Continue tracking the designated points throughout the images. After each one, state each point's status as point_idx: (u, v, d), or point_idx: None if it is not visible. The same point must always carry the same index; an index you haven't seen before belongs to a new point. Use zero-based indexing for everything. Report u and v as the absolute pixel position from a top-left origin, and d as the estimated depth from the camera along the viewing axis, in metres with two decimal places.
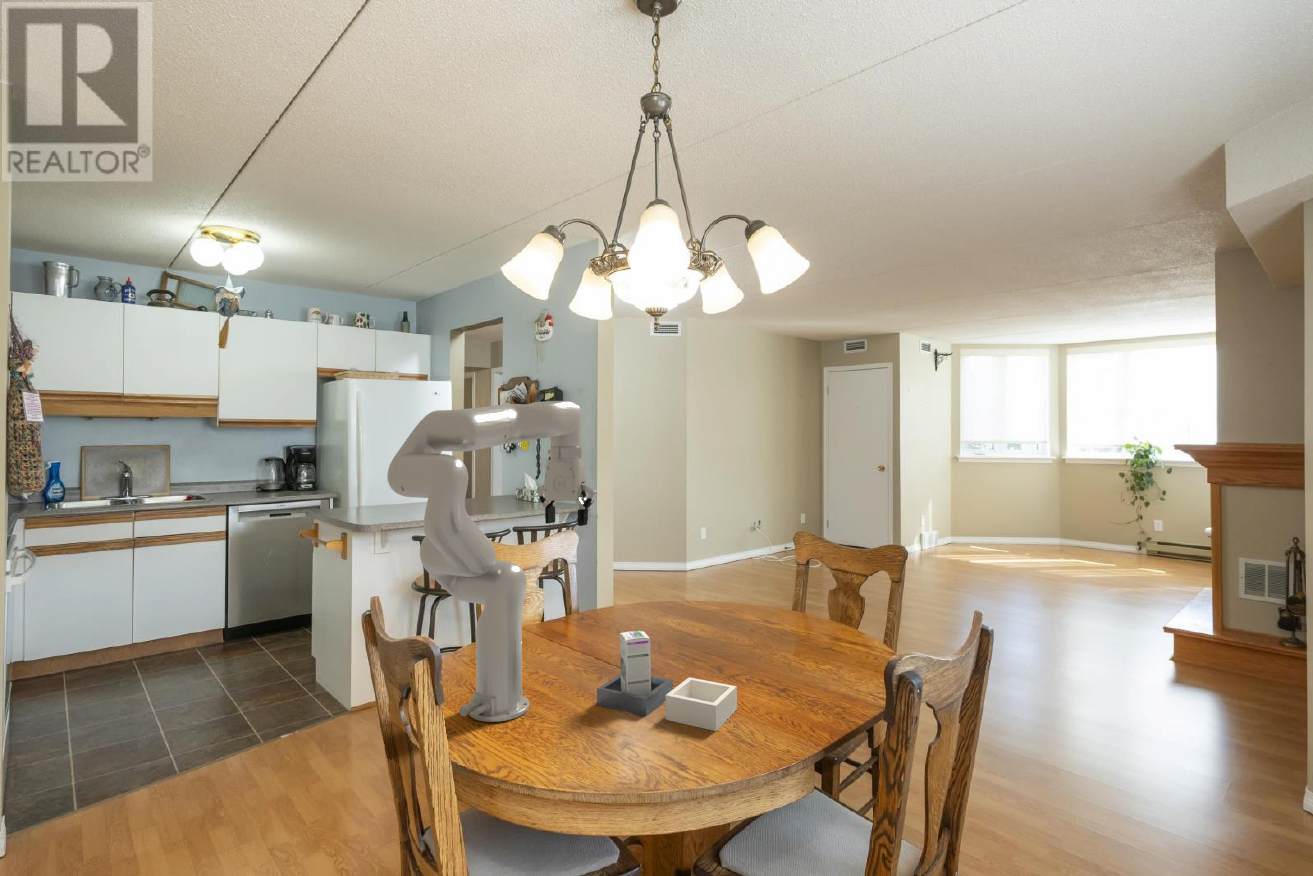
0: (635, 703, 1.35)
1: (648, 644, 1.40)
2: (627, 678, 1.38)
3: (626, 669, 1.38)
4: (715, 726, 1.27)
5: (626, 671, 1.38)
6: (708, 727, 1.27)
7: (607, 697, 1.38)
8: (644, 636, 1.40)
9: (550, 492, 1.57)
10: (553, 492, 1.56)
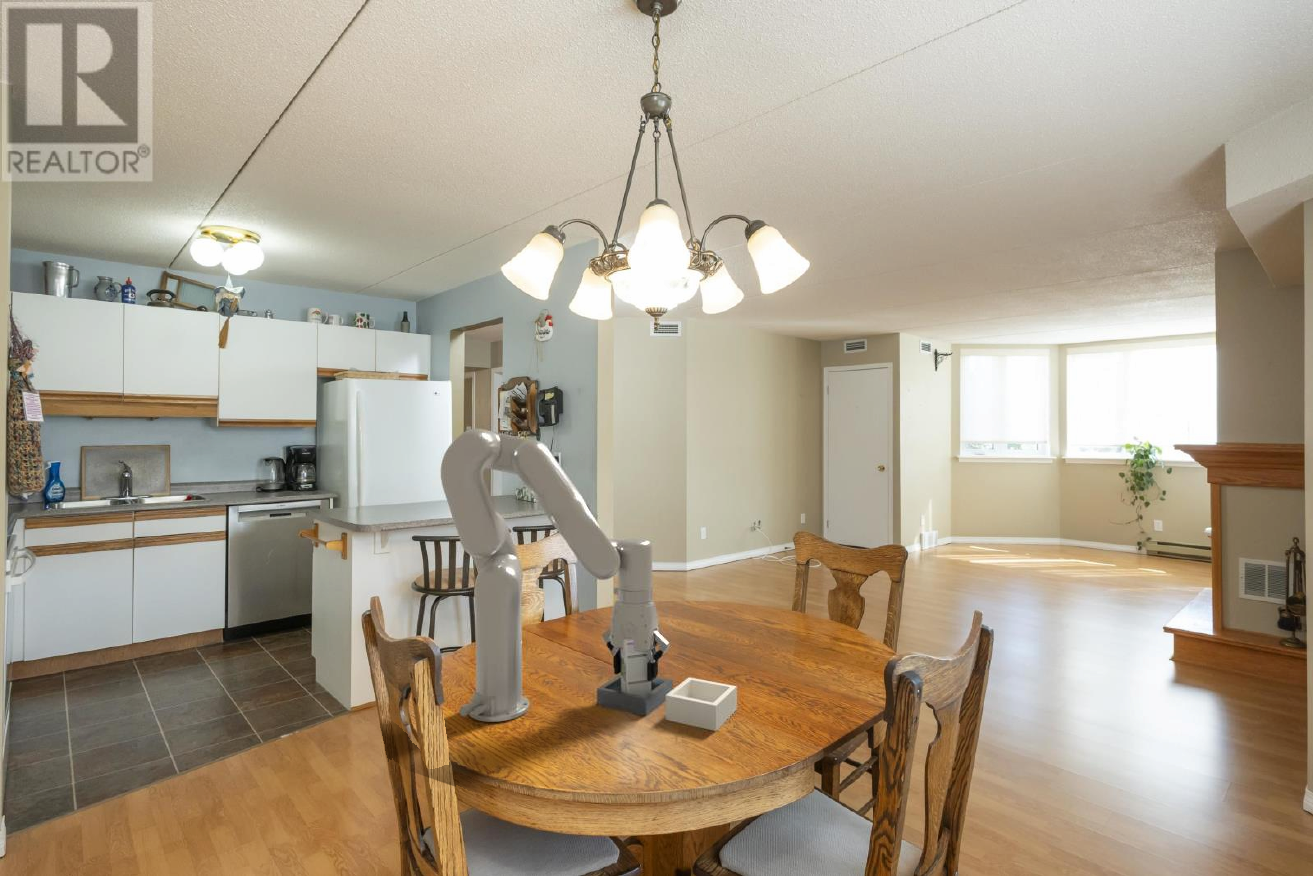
0: (635, 703, 1.35)
1: None
2: (627, 678, 1.38)
3: (626, 669, 1.38)
4: (715, 726, 1.27)
5: (626, 671, 1.38)
6: (708, 727, 1.27)
7: (607, 697, 1.38)
8: None
9: (618, 639, 1.40)
10: (621, 640, 1.40)
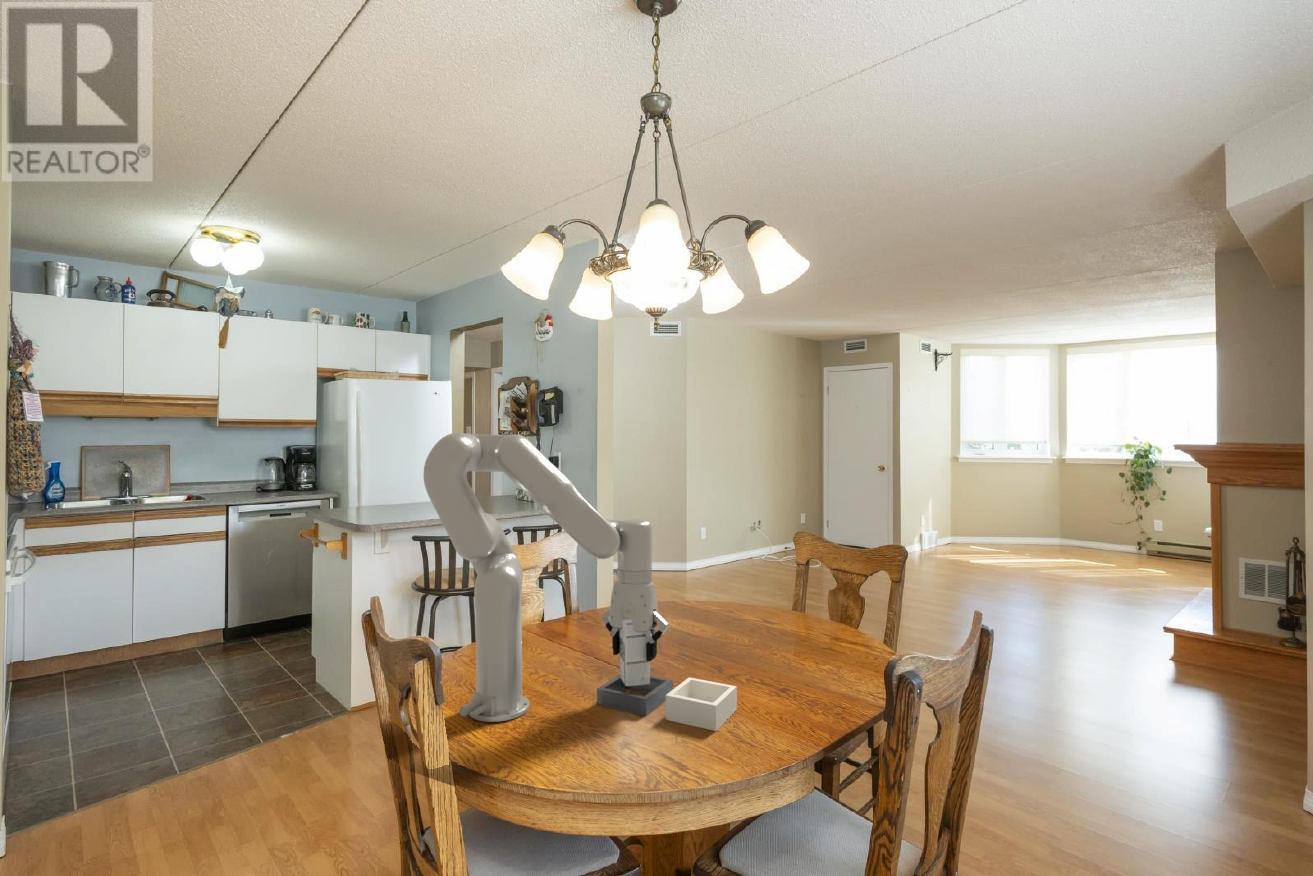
0: (635, 703, 1.35)
1: None
2: (626, 658, 1.38)
3: (625, 649, 1.38)
4: (715, 726, 1.27)
5: (625, 651, 1.38)
6: (708, 727, 1.27)
7: (607, 697, 1.38)
8: None
9: (617, 620, 1.40)
10: (621, 620, 1.40)
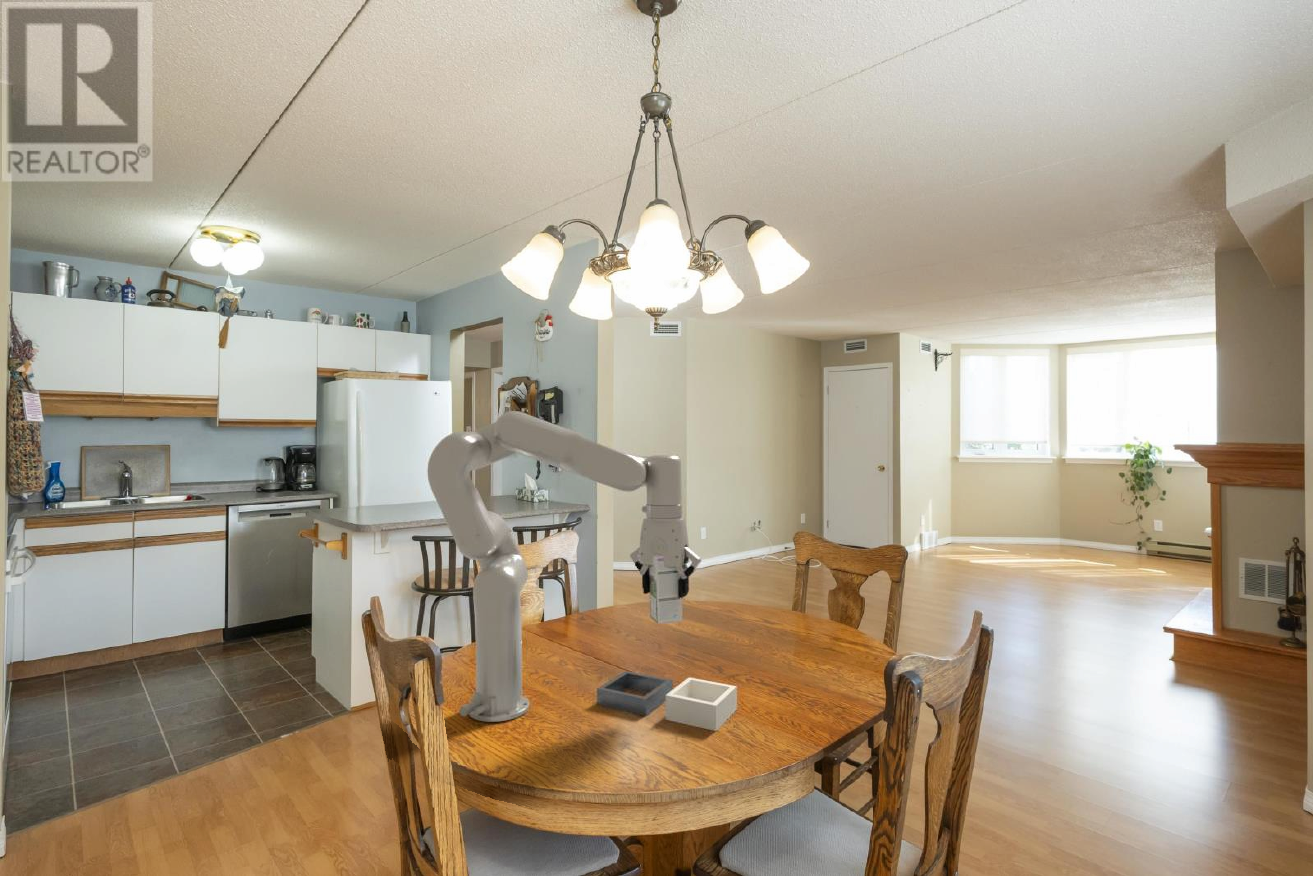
0: (635, 703, 1.35)
1: None
2: (658, 595, 1.35)
3: (657, 585, 1.35)
4: (715, 726, 1.27)
5: (657, 588, 1.35)
6: (708, 727, 1.27)
7: (607, 697, 1.38)
8: None
9: (647, 556, 1.37)
10: (651, 557, 1.37)
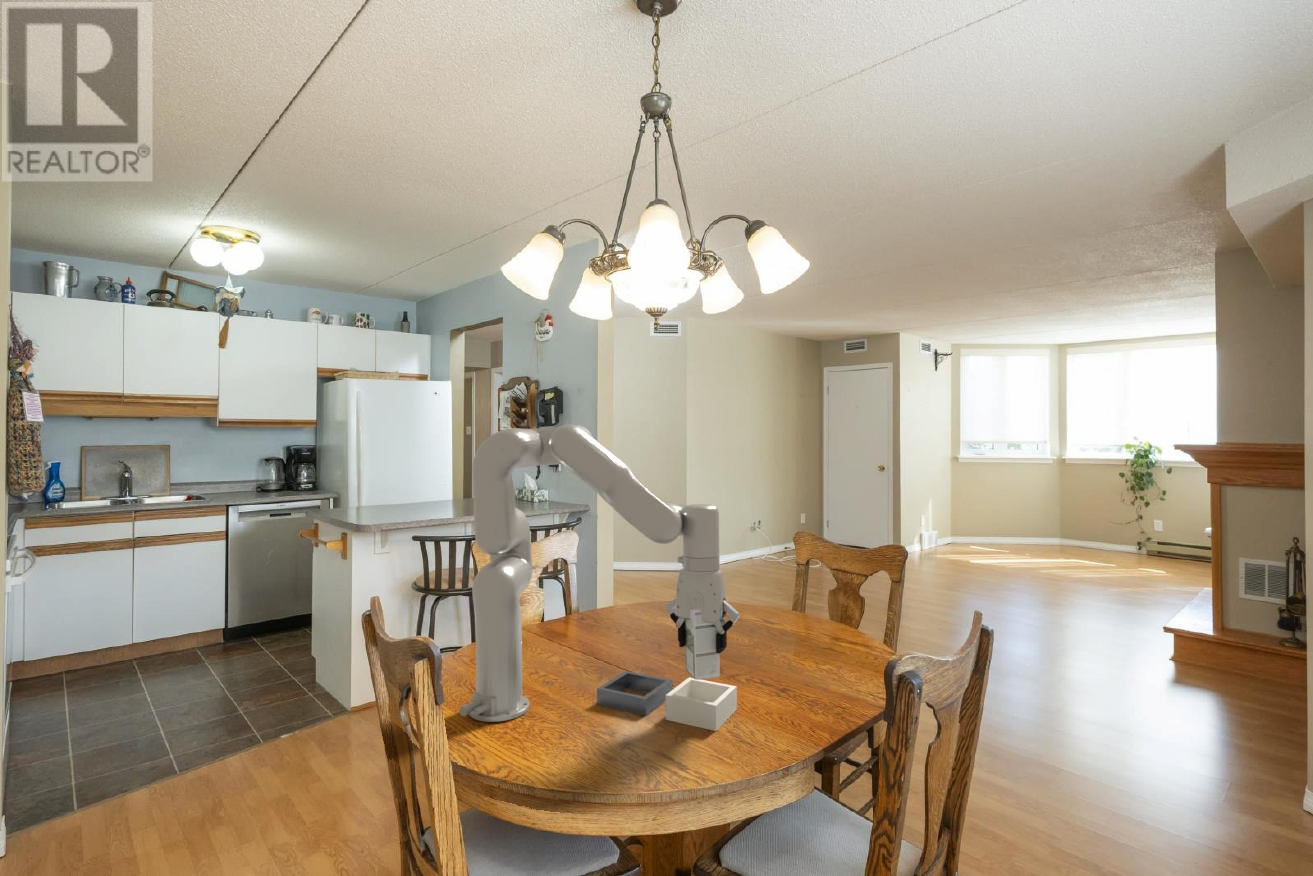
0: (635, 703, 1.35)
1: None
2: (695, 650, 1.31)
3: (694, 640, 1.31)
4: (715, 726, 1.27)
5: (694, 642, 1.31)
6: (708, 727, 1.27)
7: (607, 697, 1.38)
8: None
9: (684, 610, 1.33)
10: (688, 610, 1.32)
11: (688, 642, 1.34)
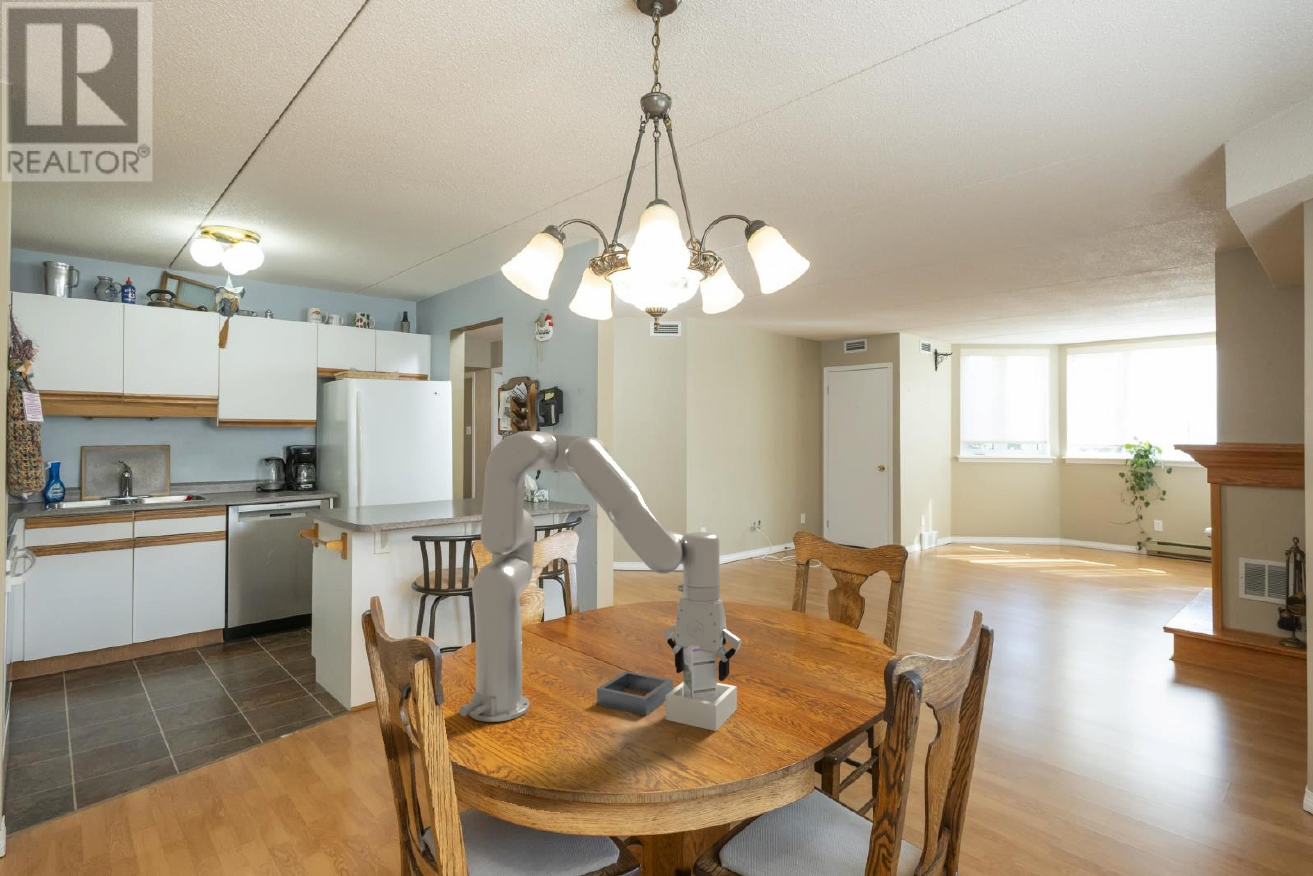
0: (635, 703, 1.35)
1: None
2: (693, 686, 1.31)
3: (692, 677, 1.31)
4: (715, 726, 1.27)
5: (692, 679, 1.31)
6: (708, 727, 1.27)
7: (607, 697, 1.38)
8: None
9: (684, 639, 1.33)
10: (688, 639, 1.32)
11: (686, 678, 1.34)
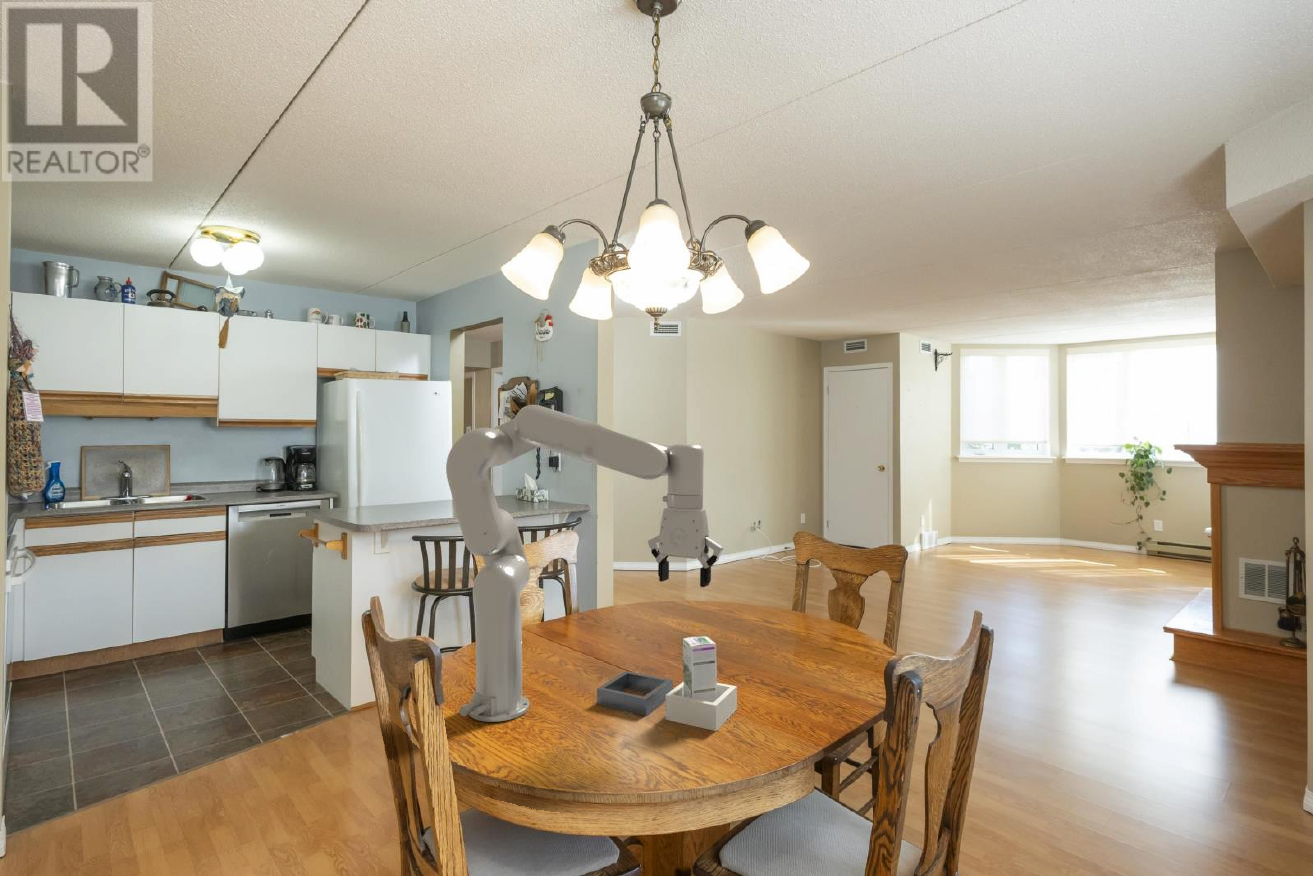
0: (635, 703, 1.35)
1: (714, 650, 1.32)
2: (693, 686, 1.31)
3: (692, 677, 1.31)
4: (715, 726, 1.27)
5: (692, 679, 1.31)
6: (708, 727, 1.27)
7: (607, 697, 1.38)
8: (710, 642, 1.33)
9: (667, 546, 1.35)
10: (671, 547, 1.35)
11: (686, 678, 1.34)
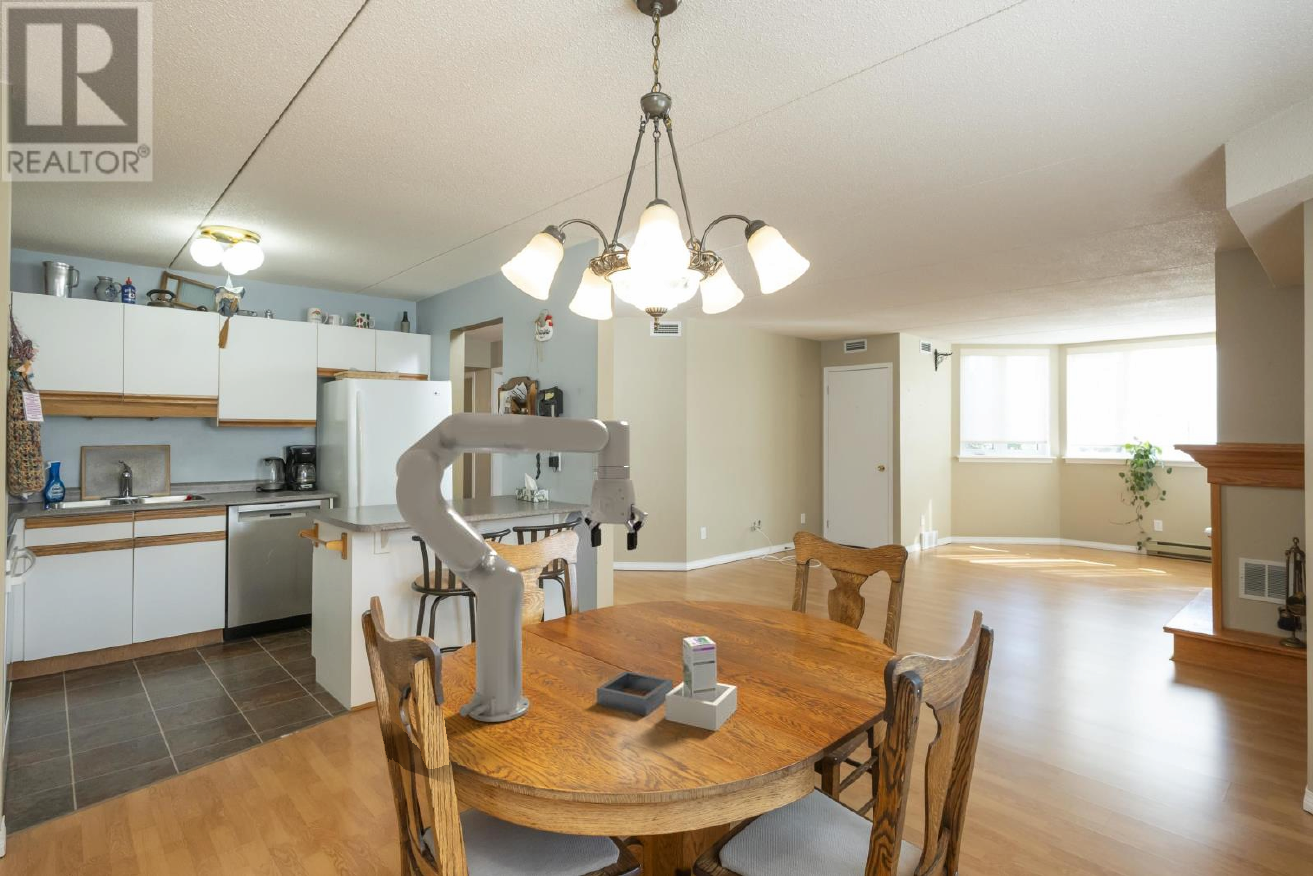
0: (635, 703, 1.35)
1: (714, 650, 1.32)
2: (693, 686, 1.31)
3: (692, 677, 1.31)
4: (715, 726, 1.27)
5: (692, 679, 1.31)
6: (708, 727, 1.27)
7: (607, 697, 1.38)
8: (710, 642, 1.33)
9: (597, 514, 1.48)
10: (600, 514, 1.47)
11: (686, 678, 1.34)
